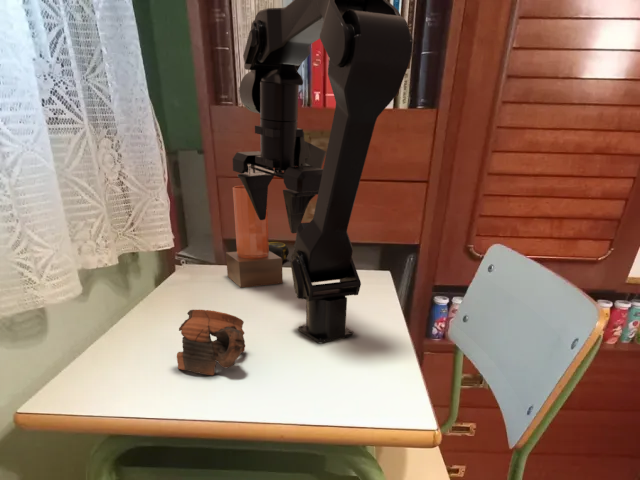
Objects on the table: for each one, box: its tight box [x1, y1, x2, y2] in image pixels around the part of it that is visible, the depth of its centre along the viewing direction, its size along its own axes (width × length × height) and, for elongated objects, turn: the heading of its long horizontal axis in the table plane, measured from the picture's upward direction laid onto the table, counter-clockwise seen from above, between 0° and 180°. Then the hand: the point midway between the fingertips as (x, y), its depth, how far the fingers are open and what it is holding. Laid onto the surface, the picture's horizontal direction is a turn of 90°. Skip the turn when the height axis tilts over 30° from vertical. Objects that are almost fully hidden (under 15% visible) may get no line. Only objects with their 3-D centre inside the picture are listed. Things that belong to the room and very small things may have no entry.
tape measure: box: [268, 241, 290, 262], centre depth 114 cm, size 7×7×4 cm
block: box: [225, 251, 283, 289], centre depth 99 cm, size 9×9×5 cm
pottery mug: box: [176, 309, 246, 376], centre depth 64 cm, size 12×9×8 cm
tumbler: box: [232, 184, 269, 259], centre depth 95 cm, size 6×6×12 cm
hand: (277, 226), depth 83 cm, fingers open, 9 cm apart
